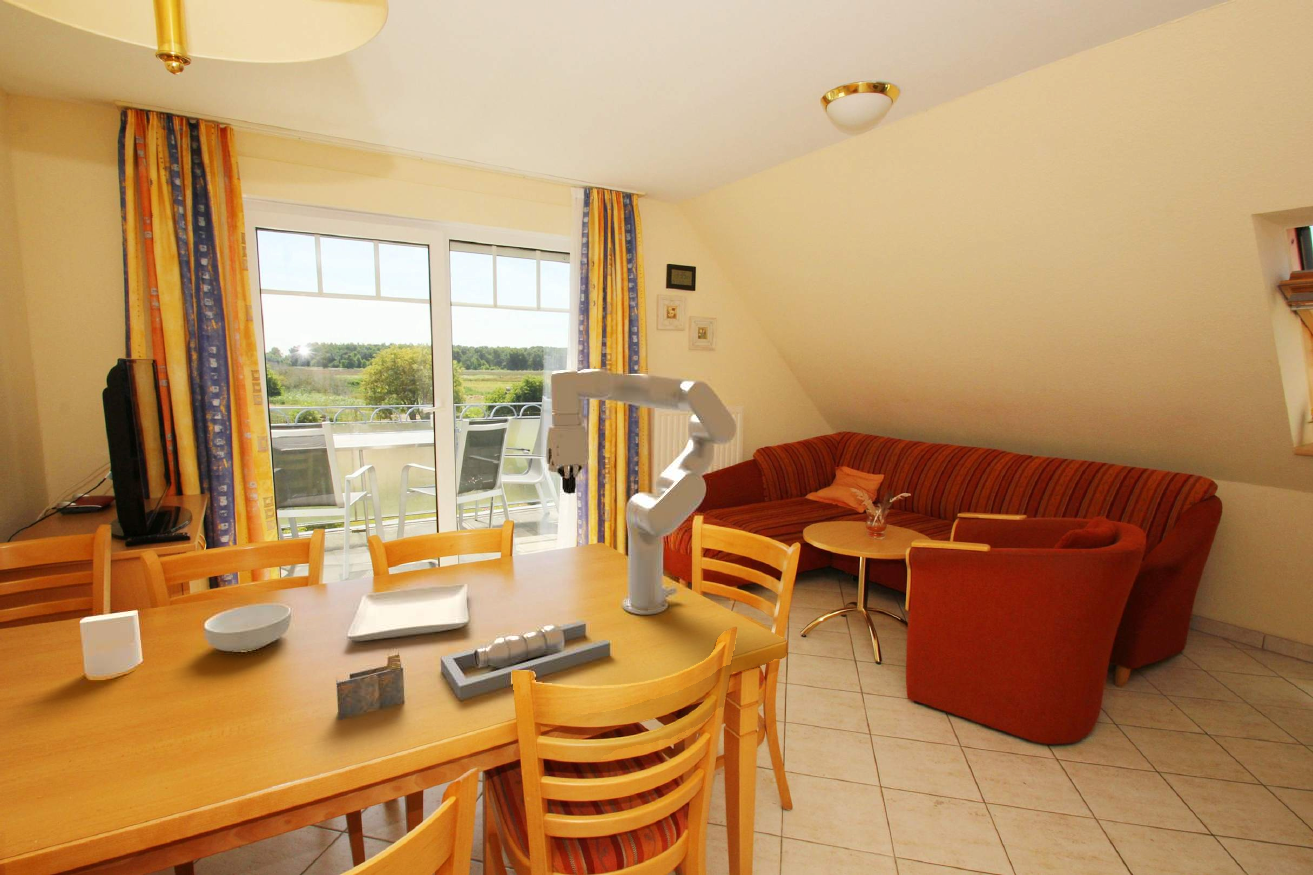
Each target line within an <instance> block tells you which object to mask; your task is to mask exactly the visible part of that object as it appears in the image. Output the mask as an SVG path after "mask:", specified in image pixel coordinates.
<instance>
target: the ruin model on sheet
mask: <svg viewBox="0 0 1313 875" xmlns="http://www.w3.org/2000/svg"><path fill="white" fill-rule="evenodd" d="M386 658H387V659H386V660H387V663H386V665H382V666H377V667H373V668H370V669H365V670H360V671H355V672H351V673H349V679H346V680H341V681H339V676H335V681H336V698H337V715H338V721H339V720H344V719H347V718H351V717H355V716H359V715H363V714H365V713H366V714H367V713H369V712H374V711H378V710H382V709H385V708H389V707H392V706H396V705H400V704H404V703H405V678H404V666H403V663H402V661H401V657H400V652H399V651H398V653H395V654H391V655H389V653H388V654H387V657H386Z"/></svg>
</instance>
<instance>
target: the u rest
mask: <svg viewBox="0 0 1313 875" xmlns="http://www.w3.org/2000/svg"><path fill="white" fill-rule="evenodd" d="M558 626H559V625H558ZM559 627H561V629H562V631H563V634H564V640H565V642H566V641H570V640H574V639H577V638H581V637H583V636H586V635H587V624H586V622H584V621H583V620H579V621H575V622H571V623H568V624H564V625H560V626H559ZM489 645H490V644H486V645H483V646H479V647H476V648H475V647H474V648H471V649H467V650H464V651H459V652H457V653H456V652H455V653H452V654H451V653H450V654H449V655H444V656H440V671H441V673H442V674H443V676H444V678H445V680H446V681H447V683H448V684H449V686H450V687H451V688H452V690H453V692H454V694H455V695H456V698H457V699H458V700H459V701H464V700H468V699H470V698H474V697H478V696H480V695H483V694H486V693H490V692H494V691H497V690H500V689H503V688H508V687H511V686H512V685H511V671H512V670H531V671H534V672H535V674H536V678H535V679H537V678H539V677H543V676H546V675H547V676H548V675H550V674H552V673H556V672H559V671H563V670H565V669H569V668H572V667H573V668H574V667H575V666H578V665H579V666H580V665H582V664H583V665H584V664H586V663H589V662H592V661H596V660H599V659H602V658H605V657H609V656H611V642H610V641H609V640H607V639H602V640H599V641H596V642H591V643H588V644H585V645H581V646H577V647H575V648H570V649H567V650H564V651H560V652H559V653H556V654H553V655H549V656H541V657H539V658H536V659H532V660H529V661H526V662H522V663H518V664H513V665H511V666H509V667H506V668H503V669H498V670H495V671H490V672H487V673H484V674H483V673H482V674H479V675H476V676H473V677H469V678H466V676H465V674H464V673H463V671H462V670H464V669H467V668H471V667H476V665H475V661H474V652H475V650H477V649H481V648H485V649H486V648H487V647H488V646H489Z"/></svg>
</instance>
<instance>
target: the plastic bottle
mask: <svg viewBox="0 0 1313 875" xmlns="http://www.w3.org/2000/svg"><path fill="white" fill-rule="evenodd" d="M565 642H566V641H565V640H564V634H563V631H562V629H561V627H559V625H557V624H548V625H546V626H544V627H541V628H540V629H537V630H534V631H530V632H528V633H523V634H519V635H512V636H511V635H509V636H501V637H497V638H495V639H494V640H493V641H492V642H491V643H490V644H488V645H489V646H488V647H487V648H486V649H485V648H481V649H477V650H475V652H474V661H475V665H476V666H475V667H476V668H485V667H488V666H491V667H493V668H496V669H498V670H500V669H504V668H507V667H511V666H514V665H516V664H517V663H518V664H519V663H520V662H522V661H526V660H528V659H532V658H538V657H539V658H540V657H546V656H549V655H553V654H556V653H560V652H562V650H564V647H565Z"/></svg>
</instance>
